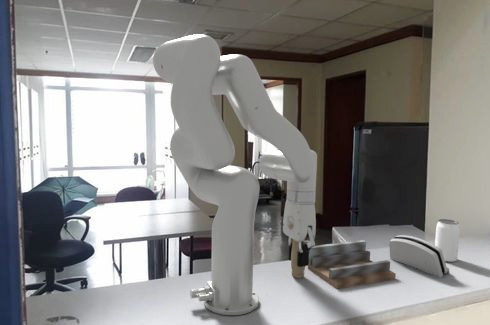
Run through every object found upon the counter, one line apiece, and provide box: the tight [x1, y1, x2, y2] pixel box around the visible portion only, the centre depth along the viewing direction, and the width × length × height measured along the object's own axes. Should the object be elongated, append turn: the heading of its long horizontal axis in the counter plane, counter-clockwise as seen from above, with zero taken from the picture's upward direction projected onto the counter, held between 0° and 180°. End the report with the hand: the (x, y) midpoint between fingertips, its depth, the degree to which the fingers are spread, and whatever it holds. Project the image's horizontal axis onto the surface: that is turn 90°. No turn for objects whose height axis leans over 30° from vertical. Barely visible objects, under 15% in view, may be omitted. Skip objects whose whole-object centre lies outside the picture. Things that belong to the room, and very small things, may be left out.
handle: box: [288, 222, 306, 279], centre depth 104 cm, size 5×6×15 cm
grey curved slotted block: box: [388, 234, 451, 278], centre depth 113 cm, size 17×5×10 cm, turn 32°
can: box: [434, 218, 461, 263], centre depth 120 cm, size 6×6×12 cm
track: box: [307, 239, 397, 290], centre depth 107 cm, size 19×14×6 cm
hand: (298, 262), depth 104 cm, fingers closed on handle, 3 cm apart
